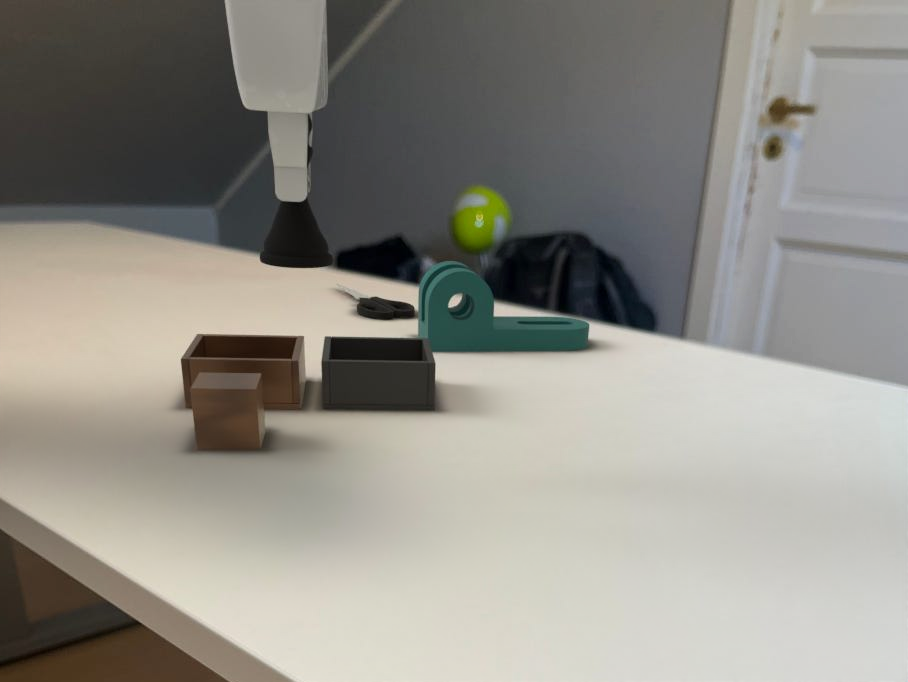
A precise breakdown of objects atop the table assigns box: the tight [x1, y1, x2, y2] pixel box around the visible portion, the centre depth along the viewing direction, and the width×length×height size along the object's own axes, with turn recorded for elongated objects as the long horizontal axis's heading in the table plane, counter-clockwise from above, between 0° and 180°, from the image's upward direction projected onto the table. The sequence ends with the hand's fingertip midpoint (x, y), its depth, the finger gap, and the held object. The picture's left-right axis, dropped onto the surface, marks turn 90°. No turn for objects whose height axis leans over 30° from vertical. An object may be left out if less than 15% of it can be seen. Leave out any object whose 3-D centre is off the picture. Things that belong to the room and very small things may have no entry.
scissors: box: [335, 283, 416, 320], centre depth 120 cm, size 7×1×20 cm
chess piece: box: [259, 114, 334, 269], centre depth 57 cm, size 4×4×10 cm
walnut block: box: [190, 372, 266, 451], centre depth 71 cm, size 4×4×4 cm
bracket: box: [417, 260, 590, 353], centre depth 102 cm, size 18×7×8 cm, turn 102°
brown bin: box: [180, 333, 307, 410], centre depth 82 cm, size 9×9×4 cm
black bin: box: [320, 335, 436, 412], centre depth 83 cm, size 9×9×4 cm
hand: (293, 198), depth 58 cm, fingers closed on chess piece, 2 cm apart
